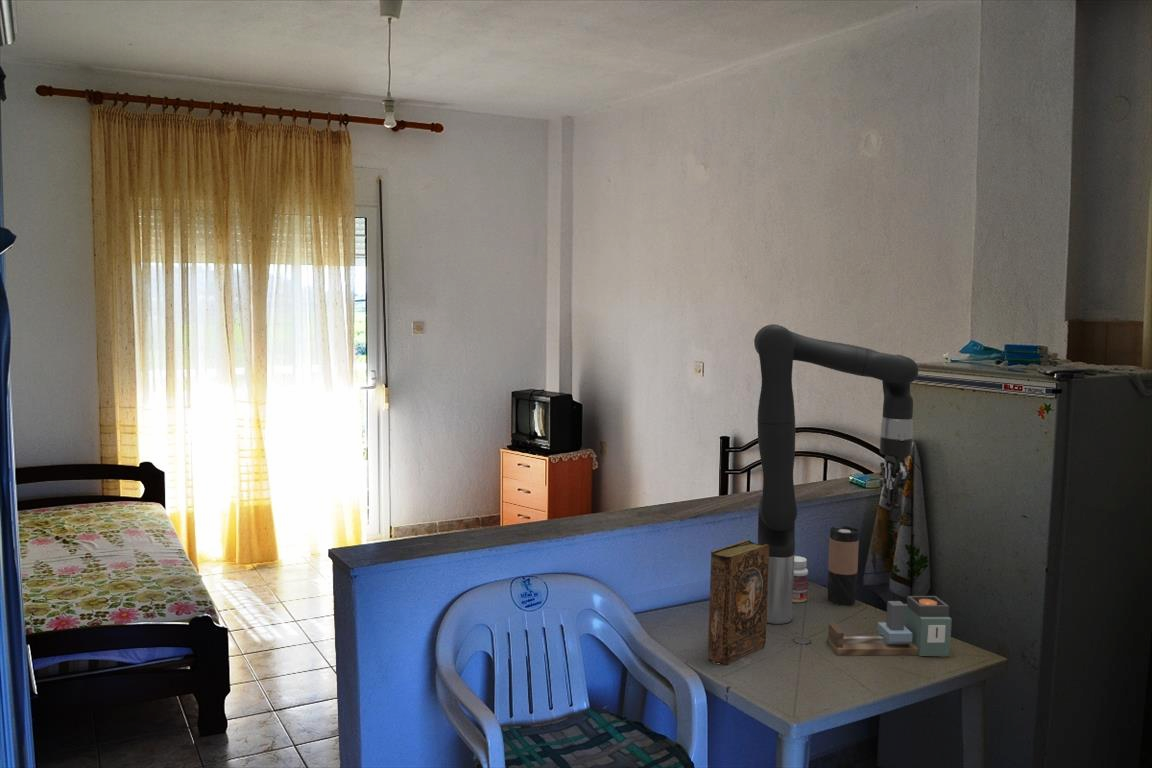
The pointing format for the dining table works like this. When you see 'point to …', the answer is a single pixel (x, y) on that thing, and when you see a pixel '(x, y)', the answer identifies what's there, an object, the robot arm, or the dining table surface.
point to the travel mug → (843, 565)
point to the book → (738, 601)
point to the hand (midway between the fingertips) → (892, 503)
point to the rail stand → (865, 644)
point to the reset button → (927, 602)
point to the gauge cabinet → (929, 626)
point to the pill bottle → (800, 579)
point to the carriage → (895, 625)
